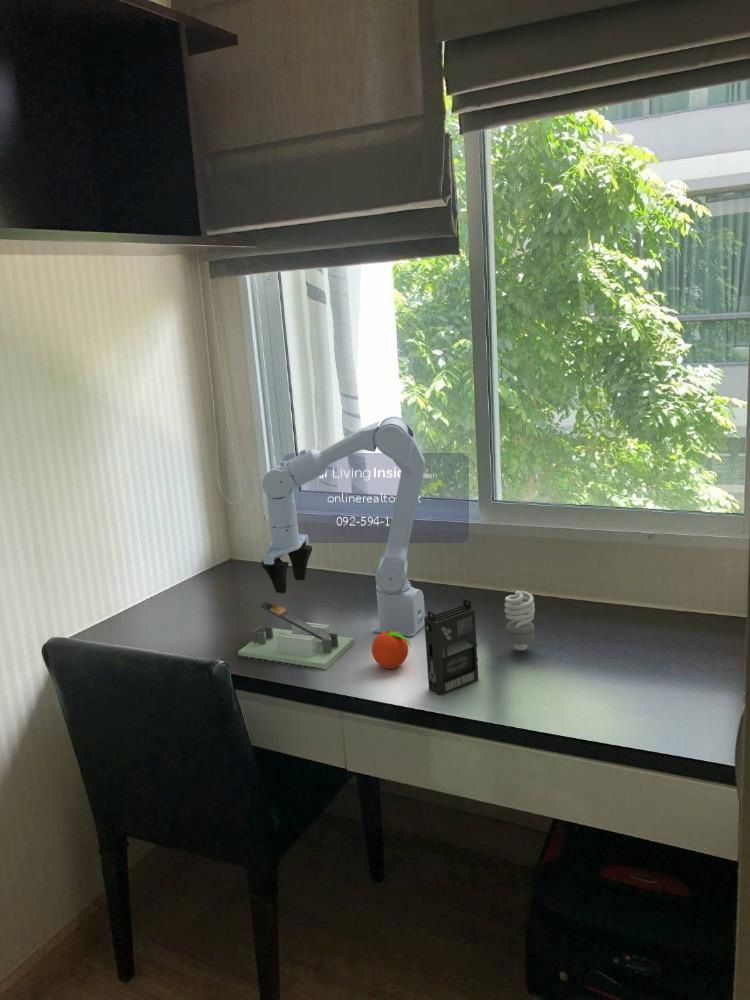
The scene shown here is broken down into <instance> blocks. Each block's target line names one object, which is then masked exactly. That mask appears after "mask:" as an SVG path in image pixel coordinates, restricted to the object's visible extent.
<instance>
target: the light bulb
mask: <svg viewBox="0 0 750 1000" xmlns="http://www.w3.org/2000/svg"><path fill="white" fill-rule="evenodd" d="M504 601H505V602H504V607H505V608H504V613H505V618H506V619H508V620H510V621H509V622H508V623H507V624H506V626H505V627H506V628H505V632H506V637H507V638H506V639H507V640H508V642H509V643H511V644H513V647H514V648H515V650H517V651H519V652H523V651H525V650H526V649H527V648H528V644H530V643H533V642H534V640H535V634H536V633H535V632H536V631H535V630H536V629H535V625H534V623H533V622H532V621H533V620H534V618H535V611H536V608H535V602H534V601H535V600H534V595H532V594H531V593H530V592H527V591H525V590H516V591H515V592H514V594H510V595H507V596H506V597H505V598H504Z"/></svg>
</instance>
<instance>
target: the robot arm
mask: <svg viewBox="0 0 750 1000" xmlns="http://www.w3.org/2000/svg"><path fill="white" fill-rule="evenodd" d="M379 424H380V425H379ZM377 450H379V452H380V453H382V454H383V455H385V456H386V457H388V458H390V459H391V460H392V461H393V462H394V463H395V465H396V466H397V467H398V468H399V469H400V471H401V472H400V477H399V480H398V481H399V483H398V487H397V491H396V496H395V500H394V501H395V502H394V507H393V511H392V516H391V517H392V518H391V521H390V527H389V532H388V537H387V540H386V541H387V542H386V546H385V550H384V552H383V553H382V555H381V556H380V557H379V560H378V567H377V571H376V572H375V583H376V585H375V588H376V589H375V590H376V600H377V601H376V602H377V613H378V623H377V624H376V625H375V626H374V627H373V628H371V631H372V632H373V633H379V634H381V633H382V632H384V631H395V632H398V633H400V634H401V635H403V636H404V637H415V636H416V634H417V633H418V632H419V631H420V630H421V629H422V628H423V627H425V623H424V617H425V616H426V611H425V609H426V608H425V596H424V593H423V591H422V589H418V588H415V587H413V586H412V584H411V581H409V579H408V578H407V573H408V568H409V562H408V561H409V560H408V558H407V557H408V556H407V555H408V550H409V545H410V540H411V535H412V530H413V524H414V521H415V515H416V511H417V505H418V502H419V497H420V492H421V491H420V490H421V487H422V481H423V477H424V472H425V468H426V460H425V457H424V455H423V452H422V450H421V447H420V445H419V442H418V440H417V438H416V435H415V431H414V430H413V428H412V427H411V426H410V425H409V424H408V423H407V422H406V421H405V420H404V419H403V418H401V417H398V416H389V417H386V418H385V419H384V420H382V421H381V422H380V420H379V421H377V422H374V423H372V424H369V425H367V426H365V427H363V428H360V429H357V431H355V432H353V433H351V434H349V435H348V436H345V437H343V438H342V439H340V440H339V441H337V442H335V443H333V444H332V445H329V446H327V447H326V448H324V449H323V450H320V449H319V450H318V449H316V448H310V449H307V448H304V449H302V450H300V452H299V454H298V455H296V456H295V457H293V458H291V459H288V460H287V461H286V460H285V459H284V460H282V461H281V462H279V465H275V466H273V467H272V468H270V470H268V472H267V473H266V474H265V475H264V477H263V479H262V482H261V483H262V485H261V486H262V489H263V491H264V493H265V494H266V500H267V512H268V521H269V528H270V537H271V542H270V543H269V544H268V545H267V546H268V550H267V551H266V552H265V553H264V554H263V555H262V559H263V560H262V561H261V567H262V568H263V569H264V571H265V572H266V573H267V575H268V577H269V578H270V581H271V582H272V585H273V587H274V591H275V593H276V594H277V593H278V594H286V593H287V588H288V587H287V575H288V567H289V564H290V563H291V567H292V573H293V577H294V579H295V580H296V581H302V582H303V581H305V580H306V576H307V567H308V563H309V558H310V556H311V553H312V552H313V546H312V545H308V544H309V542H310V541H309V534H303V533H299V525H298V516H297V508H296V506H297V505H296V500H295V494H294V489H293V488H300V487H301V486H303V485H305V484H308V483H310V482H311V481H313V480H316V479H317V478H319V477H321V476H323V475H325V474H326V472H327V469H328V466H329V465H331V464H333V463H336V462H338V461H339V460H342V459H345V458H346V457H348V456H350V455H353V454H354V453H355V454H356V453H357V452H359V451H366V452H367V451H368V452H376V451H377ZM286 555H288V557H289V559H290V562H288V561H283V560H282V559H281V558H283V557H284V556H286Z"/></svg>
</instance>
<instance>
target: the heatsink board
mask: <svg viewBox="0 0 750 1000" xmlns="http://www.w3.org/2000/svg"><path fill="white" fill-rule="evenodd" d="M304 622H305V621H304ZM305 623H307V624H309V625H311V626H313V627H314V628H316V629H318V630H320V631H322V632H324V633H326V634H328V635H330V636H333V637H334V640H333V641H332V642H330V639H324V638H323V639H322V640H320V639H319V638H317V637H315V636H313V635H311V634H309V633H307V632H305V631H304V630H302V629H300V628H298V627H296V626H294V625H292V624H291V629H281V628H275V627H273V626H267V625H265V626H264V625H260V626H259V627H257V628H255V630H252V632H251V634H252V641H250V642H249V643H247V644H246V645H245V646H243V647H242V648H240V649H239V650H238V651H237V652H238V656H239V655H242V656H243V655H244V656H248V657H254V658H261V659H269V660H276V661H282V662H289V663H295V664H301V665H306V666H312V667H317V668H316V669H318V668H322V669H321V670H324V669H326V670H327V669H329V667H330V666H331V665H333V664H334V663H335V662H336V661H337V660H338V659H339V658H340V657H342V655H344V654H345V653H346V652H347V651H348V650H349V649H350V648H352V646H353V645H354V644H355V638H353V637H345V636H338V633H336V632H331V627H330V625H329V624H322V623H313V622H305Z"/></svg>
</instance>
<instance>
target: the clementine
mask: <svg viewBox="0 0 750 1000" xmlns="http://www.w3.org/2000/svg"><path fill="white" fill-rule="evenodd" d="M408 644H409V645H408ZM409 646H410V647H411V648H412V645H411V643H410V640H408V638H407V637H406V636H403V635H401V634H400V633H398V632H395V631H384V632H382V633H379V634H378V635H376V637H375V639H374V640H373V642H372V645H371V654H372V657H373V659H374V661H375V662H376V663H377V664H378V665H379V666H381V667H383V668H385V669H394V668H397V667H400V666H401V665H402V664H403V663H404V662H405V661H406V659H407V657H408V655H409Z"/></svg>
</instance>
